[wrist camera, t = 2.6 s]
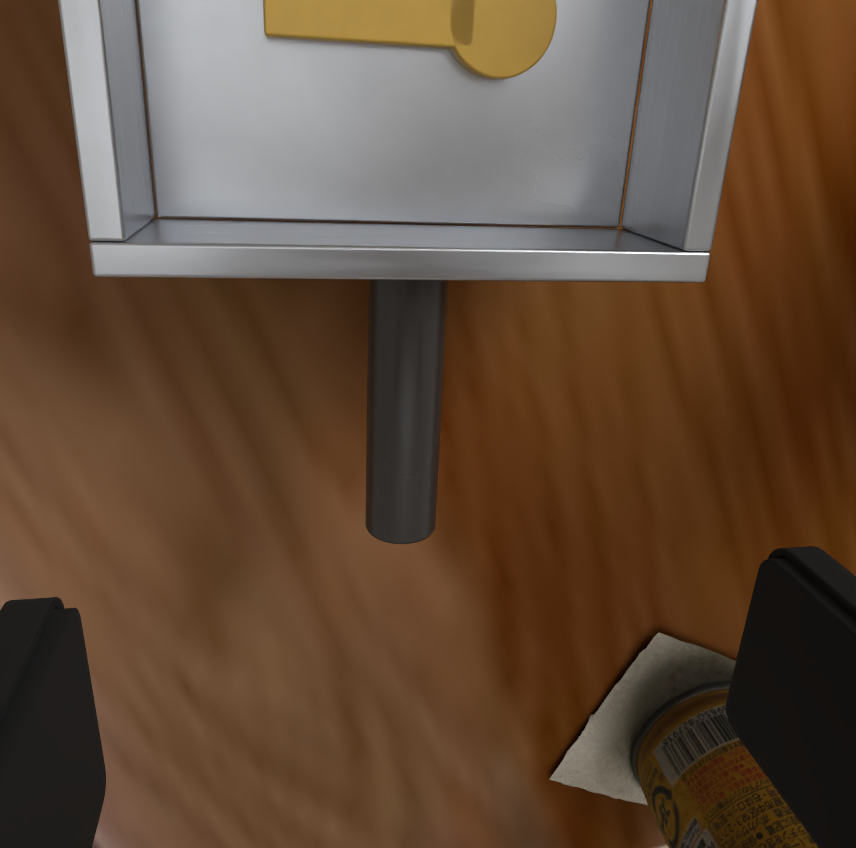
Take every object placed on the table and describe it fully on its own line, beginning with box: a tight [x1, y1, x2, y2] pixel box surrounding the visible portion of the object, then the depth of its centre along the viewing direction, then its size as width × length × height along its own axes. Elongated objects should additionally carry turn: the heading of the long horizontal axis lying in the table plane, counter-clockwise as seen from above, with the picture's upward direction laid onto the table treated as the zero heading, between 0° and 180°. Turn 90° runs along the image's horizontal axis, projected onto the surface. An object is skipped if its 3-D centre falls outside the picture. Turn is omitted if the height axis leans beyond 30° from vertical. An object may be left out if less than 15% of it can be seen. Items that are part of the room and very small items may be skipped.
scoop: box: [58, 0, 758, 544], centre depth 14 cm, size 11×17×4 cm
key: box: [263, 0, 557, 80], centre depth 14 cm, size 6×2×1 cm, turn 88°
